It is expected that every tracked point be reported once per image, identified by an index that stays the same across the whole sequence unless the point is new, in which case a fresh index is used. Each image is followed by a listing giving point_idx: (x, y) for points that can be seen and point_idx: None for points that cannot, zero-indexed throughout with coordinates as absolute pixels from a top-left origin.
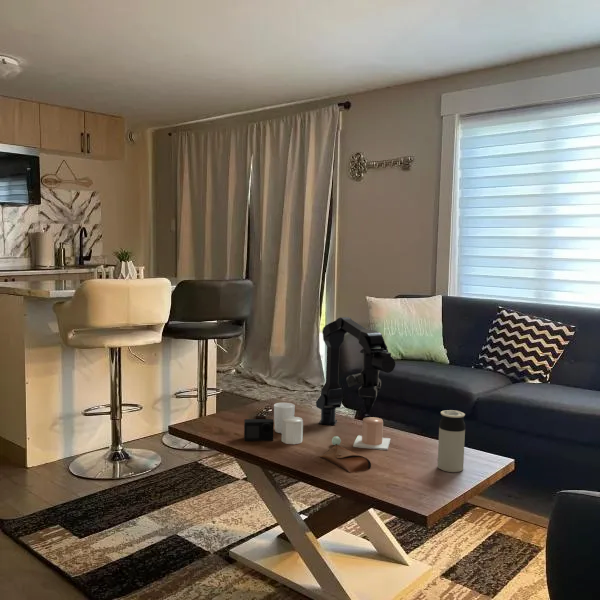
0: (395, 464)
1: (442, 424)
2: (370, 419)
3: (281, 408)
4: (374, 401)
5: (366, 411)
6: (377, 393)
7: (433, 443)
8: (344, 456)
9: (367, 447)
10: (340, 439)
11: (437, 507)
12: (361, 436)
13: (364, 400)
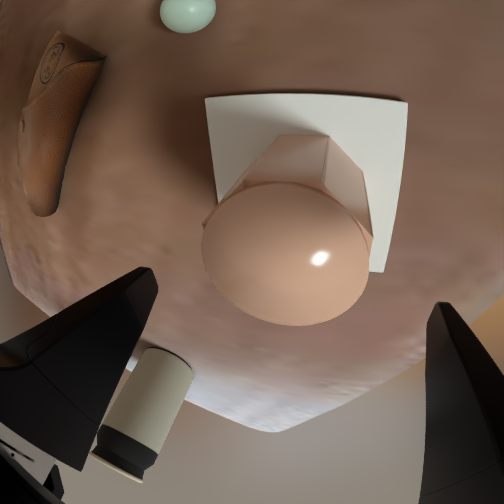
0: (117, 268)
1: (97, 433)
2: (286, 250)
3: None
4: (427, 399)
5: (125, 282)
6: (421, 501)
7: (357, 375)
8: (19, 144)
9: (215, 171)
10: (187, 29)
11: (33, 302)
12: (391, 125)
13: (12, 351)
